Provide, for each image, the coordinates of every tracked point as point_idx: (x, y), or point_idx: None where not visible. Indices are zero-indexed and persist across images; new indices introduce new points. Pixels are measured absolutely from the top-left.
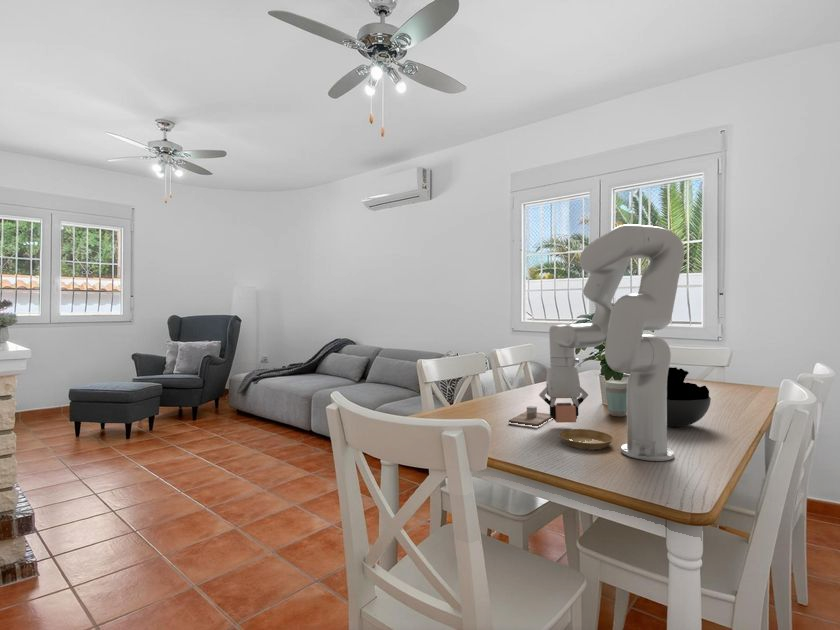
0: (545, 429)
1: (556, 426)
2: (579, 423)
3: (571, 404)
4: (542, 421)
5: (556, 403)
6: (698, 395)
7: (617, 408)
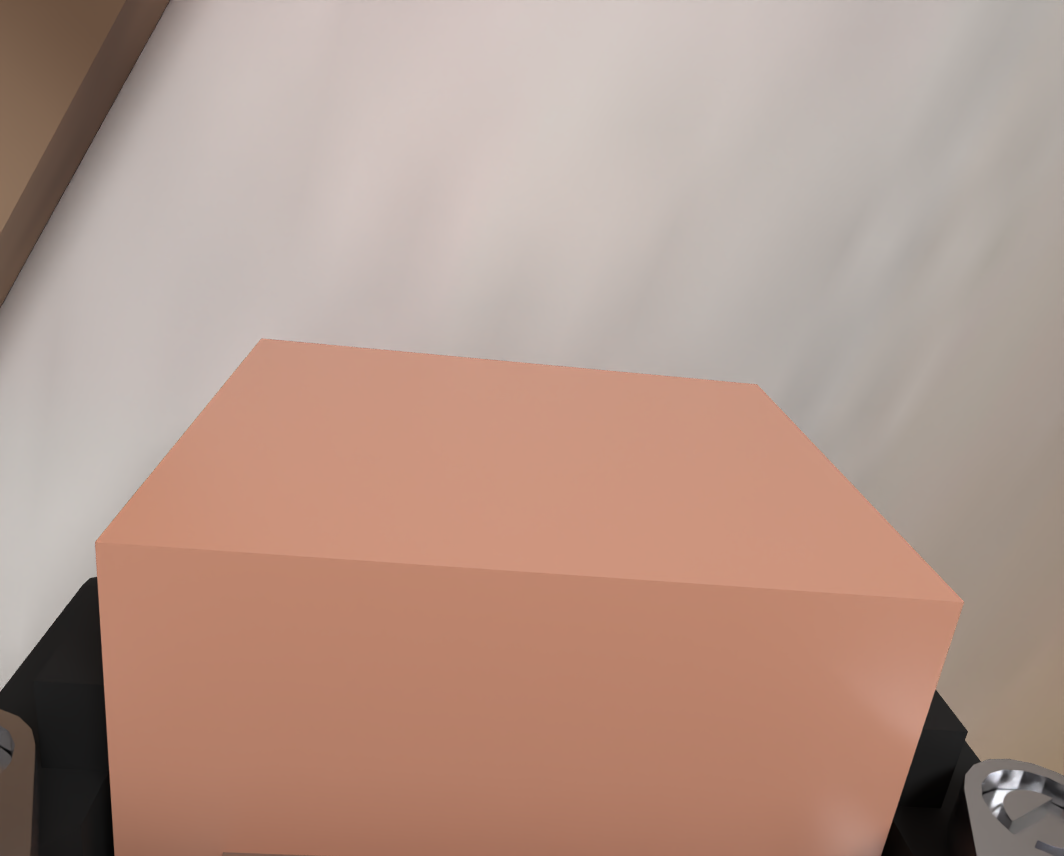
0: (79, 529)
1: (371, 311)
2: (1008, 73)
3: (837, 845)
4: (1, 241)
5: (295, 575)
6: None
7: None
